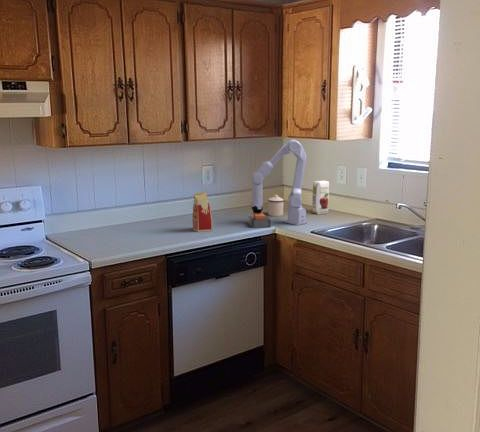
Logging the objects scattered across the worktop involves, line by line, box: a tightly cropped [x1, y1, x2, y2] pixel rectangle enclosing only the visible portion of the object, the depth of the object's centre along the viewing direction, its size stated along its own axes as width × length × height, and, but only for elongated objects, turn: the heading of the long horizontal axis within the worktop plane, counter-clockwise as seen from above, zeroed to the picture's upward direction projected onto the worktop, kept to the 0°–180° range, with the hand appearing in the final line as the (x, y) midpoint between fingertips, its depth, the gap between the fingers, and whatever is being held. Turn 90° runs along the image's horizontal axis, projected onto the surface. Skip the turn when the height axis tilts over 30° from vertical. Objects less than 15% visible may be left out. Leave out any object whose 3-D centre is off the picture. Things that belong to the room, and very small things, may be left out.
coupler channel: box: [247, 215, 271, 229], centre depth 277 cm, size 10×10×4 cm
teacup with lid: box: [267, 194, 285, 217], centre depth 306 cm, size 12×9×12 cm
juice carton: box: [311, 179, 330, 216], centre depth 309 cm, size 8×9×19 cm
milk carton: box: [192, 189, 213, 233], centre depth 266 cm, size 9×9×20 cm
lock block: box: [252, 212, 266, 220], centre depth 278 cm, size 8×5×6 cm, turn 8°
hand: (256, 220), depth 284 cm, fingers closed
